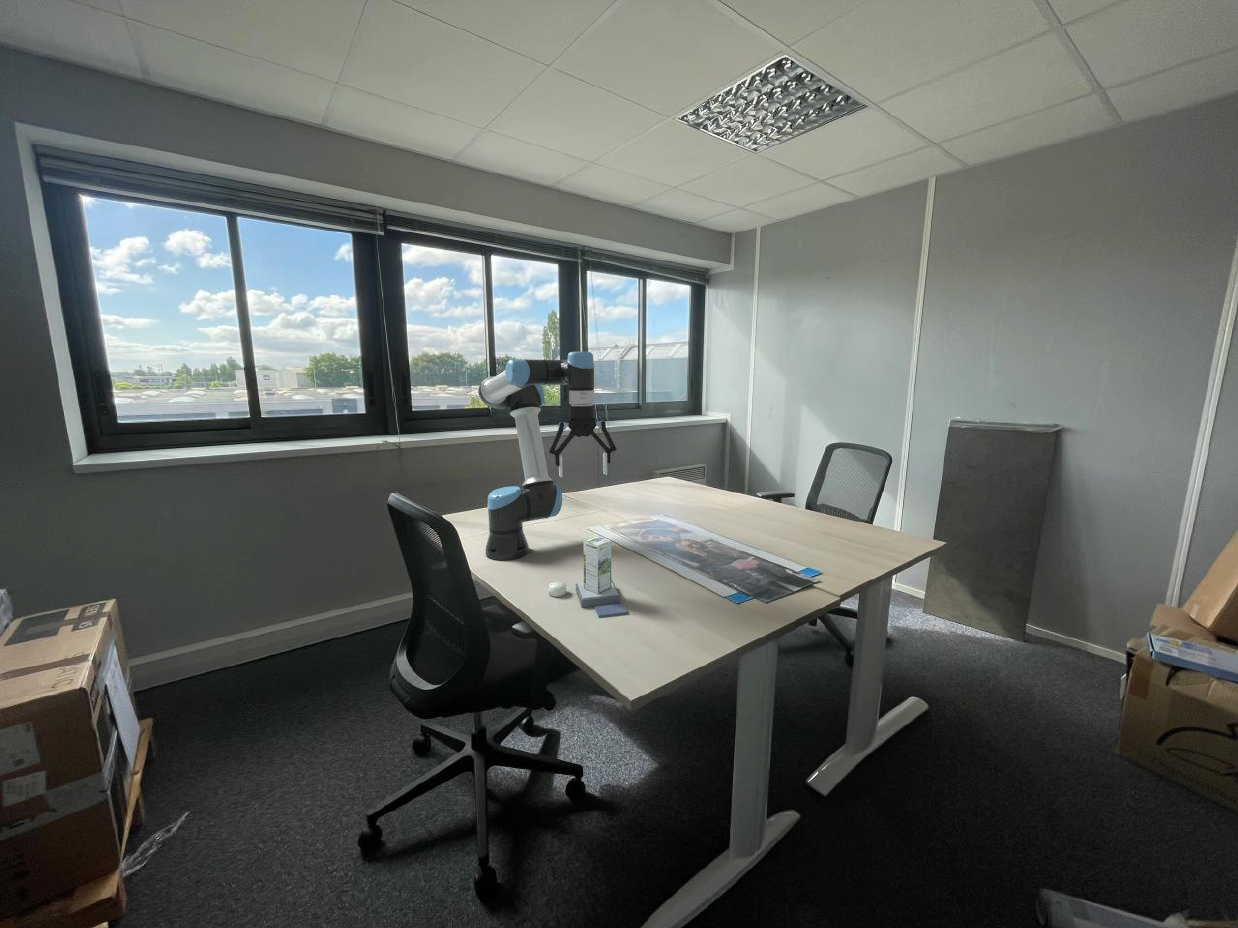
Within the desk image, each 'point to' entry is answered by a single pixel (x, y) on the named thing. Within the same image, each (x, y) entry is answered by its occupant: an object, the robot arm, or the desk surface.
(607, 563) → the syrup box
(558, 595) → the white dome
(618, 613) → the navy notebook
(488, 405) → the robot arm
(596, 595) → the podium
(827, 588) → the desk surface
